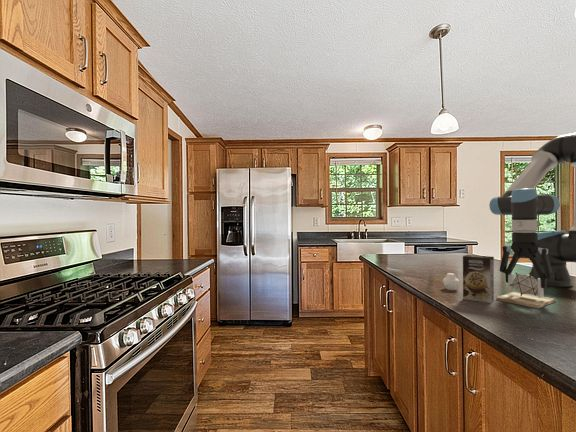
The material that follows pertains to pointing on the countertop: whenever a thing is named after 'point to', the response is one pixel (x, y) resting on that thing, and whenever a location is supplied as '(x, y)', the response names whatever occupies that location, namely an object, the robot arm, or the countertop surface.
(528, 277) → the wireframe polyhedron
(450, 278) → the white knobbed ball
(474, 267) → the cookie box
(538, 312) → the countertop surface
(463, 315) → the countertop surface
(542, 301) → the birch board
